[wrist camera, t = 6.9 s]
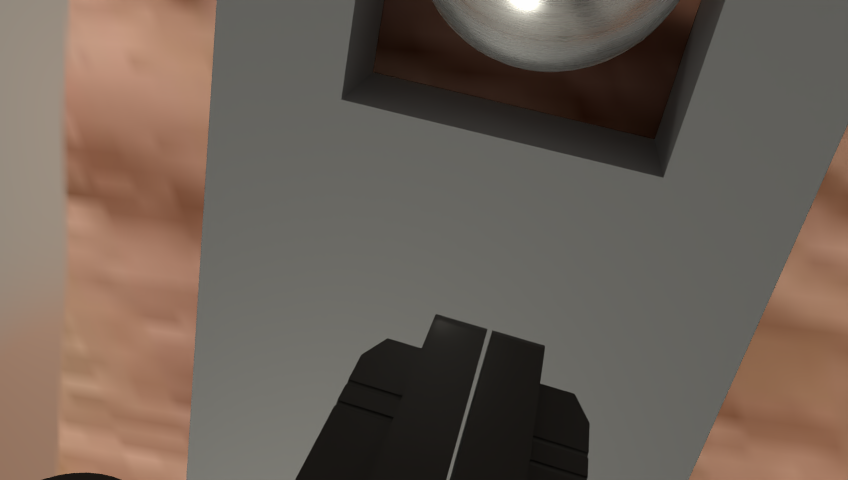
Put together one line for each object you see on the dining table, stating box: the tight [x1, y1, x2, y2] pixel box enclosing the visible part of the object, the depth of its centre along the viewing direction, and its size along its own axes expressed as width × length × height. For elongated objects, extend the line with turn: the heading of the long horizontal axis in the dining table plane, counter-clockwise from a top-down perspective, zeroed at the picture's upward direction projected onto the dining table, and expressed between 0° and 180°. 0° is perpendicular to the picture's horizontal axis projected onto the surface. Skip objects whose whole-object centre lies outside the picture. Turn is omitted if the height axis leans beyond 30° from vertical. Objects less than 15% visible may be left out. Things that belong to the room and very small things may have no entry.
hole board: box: [186, 0, 848, 480], centre depth 18 cm, size 12×26×2 cm, turn 169°
